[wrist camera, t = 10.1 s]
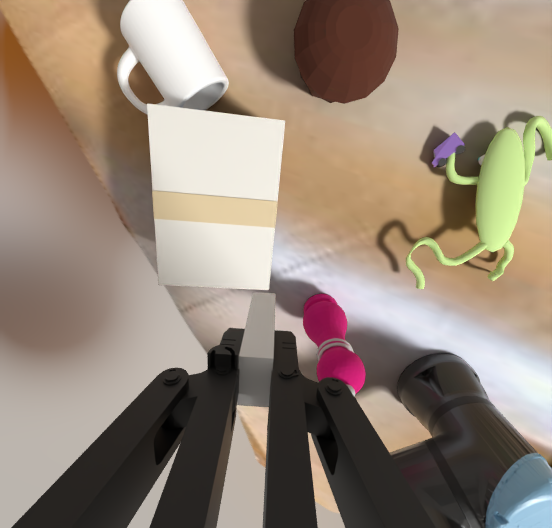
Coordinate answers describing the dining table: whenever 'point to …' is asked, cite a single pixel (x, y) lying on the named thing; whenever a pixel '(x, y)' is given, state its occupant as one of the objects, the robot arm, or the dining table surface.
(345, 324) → the pepper mill
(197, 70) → the mug
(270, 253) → the lid
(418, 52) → the dining table surface
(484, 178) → the figurine
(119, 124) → the dining table surface
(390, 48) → the muffin
